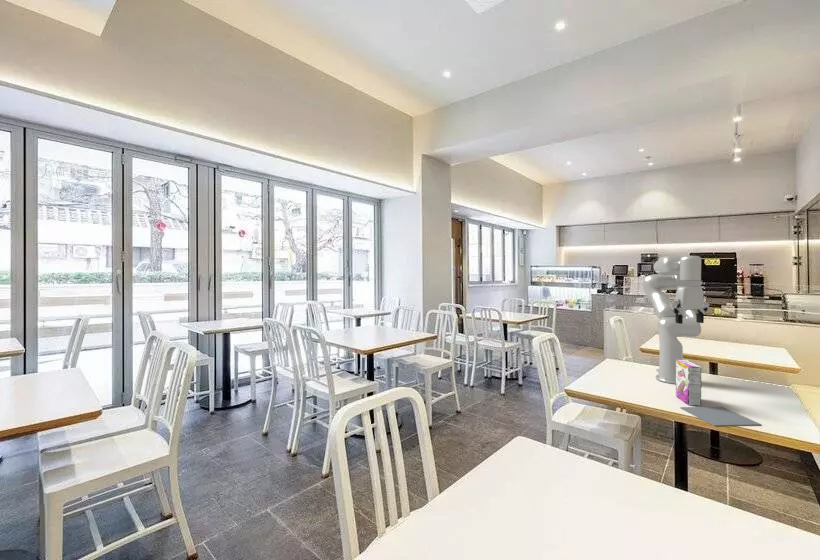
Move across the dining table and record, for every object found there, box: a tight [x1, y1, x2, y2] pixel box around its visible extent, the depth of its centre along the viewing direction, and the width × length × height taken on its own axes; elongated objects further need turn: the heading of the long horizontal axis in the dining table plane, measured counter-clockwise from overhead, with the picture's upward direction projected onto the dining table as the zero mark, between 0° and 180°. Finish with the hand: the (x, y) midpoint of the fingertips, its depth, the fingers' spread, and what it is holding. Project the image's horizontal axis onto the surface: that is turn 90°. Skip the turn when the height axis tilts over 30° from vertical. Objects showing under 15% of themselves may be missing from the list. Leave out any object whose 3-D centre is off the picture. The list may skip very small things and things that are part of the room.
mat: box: [680, 406, 762, 427], centre depth 145 cm, size 17×17×1 cm
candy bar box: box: [675, 359, 703, 407], centre depth 160 cm, size 11×5×16 cm, turn 168°
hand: (689, 322), depth 167 cm, fingers open, 9 cm apart
